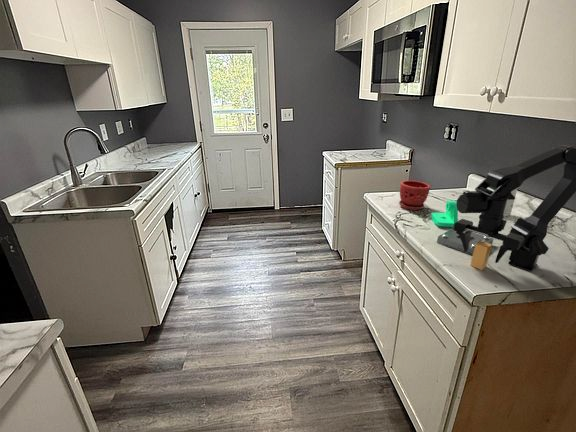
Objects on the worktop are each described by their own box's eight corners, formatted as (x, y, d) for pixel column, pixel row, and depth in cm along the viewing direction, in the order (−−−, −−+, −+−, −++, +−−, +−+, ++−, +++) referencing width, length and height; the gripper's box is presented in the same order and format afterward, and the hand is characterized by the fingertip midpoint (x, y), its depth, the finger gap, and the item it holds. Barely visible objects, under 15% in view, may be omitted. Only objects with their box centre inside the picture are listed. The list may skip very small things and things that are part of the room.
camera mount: (429, 217, 142) (433, 196, 138) (447, 218, 141) (452, 197, 137) (437, 228, 131) (441, 205, 127) (456, 229, 130) (461, 206, 126)
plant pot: (416, 213, 146) (421, 189, 141) (392, 206, 155) (395, 183, 151) (431, 207, 153) (435, 184, 149) (407, 200, 163) (410, 178, 158)
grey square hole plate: (491, 244, 117) (494, 237, 116) (476, 256, 109) (478, 248, 107) (453, 232, 127) (455, 225, 126) (436, 242, 119) (438, 234, 117)
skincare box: (499, 218, 141) (508, 186, 135) (486, 214, 146) (494, 183, 140) (510, 215, 144) (519, 184, 139) (497, 211, 149) (505, 180, 144)
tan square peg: (486, 266, 103) (492, 244, 100) (481, 269, 101) (487, 247, 98) (474, 262, 105) (480, 240, 102) (470, 265, 103) (475, 243, 100)
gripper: (537, 214, 94) (522, 260, 100) (471, 199, 107) (462, 240, 113) (524, 224, 87) (510, 272, 93) (456, 206, 101) (447, 249, 107)
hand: (480, 257), depth 102 cm, fingers open, 9 cm apart
